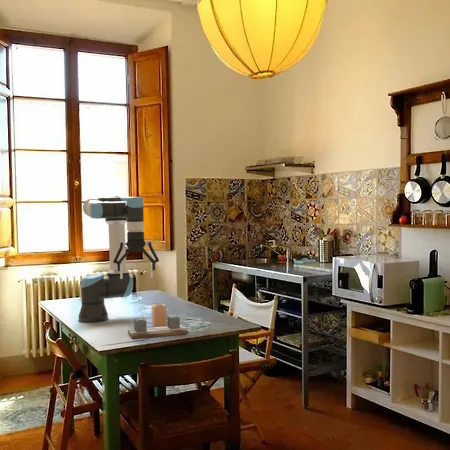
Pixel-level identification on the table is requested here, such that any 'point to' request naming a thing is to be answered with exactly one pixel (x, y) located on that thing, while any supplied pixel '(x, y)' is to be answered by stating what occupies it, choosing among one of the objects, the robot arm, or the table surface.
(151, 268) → the robot arm
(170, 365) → the table surface
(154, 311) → the block
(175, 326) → the wooden fixture stand
